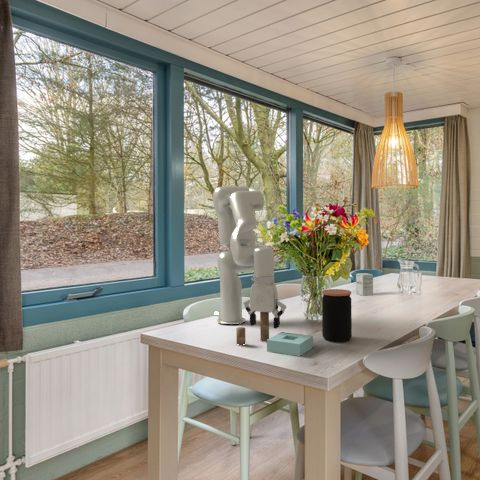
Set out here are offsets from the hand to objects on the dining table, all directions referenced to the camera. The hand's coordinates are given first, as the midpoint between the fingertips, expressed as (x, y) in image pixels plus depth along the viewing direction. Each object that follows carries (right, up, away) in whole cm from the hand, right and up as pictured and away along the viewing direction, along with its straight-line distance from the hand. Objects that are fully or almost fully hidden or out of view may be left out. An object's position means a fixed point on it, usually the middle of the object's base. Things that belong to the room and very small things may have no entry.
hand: (264, 326), depth 162 cm
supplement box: (+65, -1, +99) cm, 118 cm away
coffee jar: (+27, -5, +1) cm, 28 cm away
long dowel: (0, -5, 0) cm, 5 cm away
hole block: (+8, -6, -12) cm, 15 cm away
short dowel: (-9, -6, -5) cm, 12 cm away
